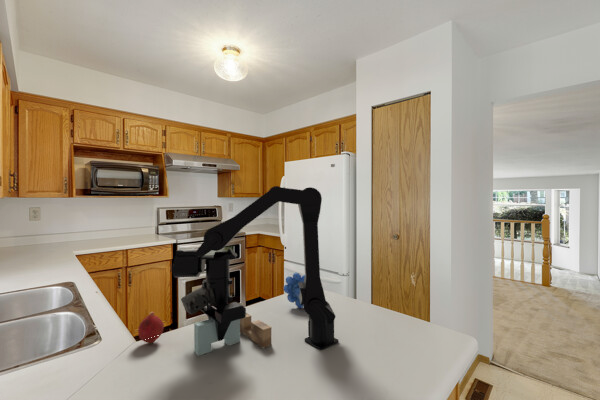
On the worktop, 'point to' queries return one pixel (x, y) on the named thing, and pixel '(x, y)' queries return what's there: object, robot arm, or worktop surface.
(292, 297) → the grapes
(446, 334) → the worktop surface
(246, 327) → the slot rail
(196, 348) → the cross plate
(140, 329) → the onion
